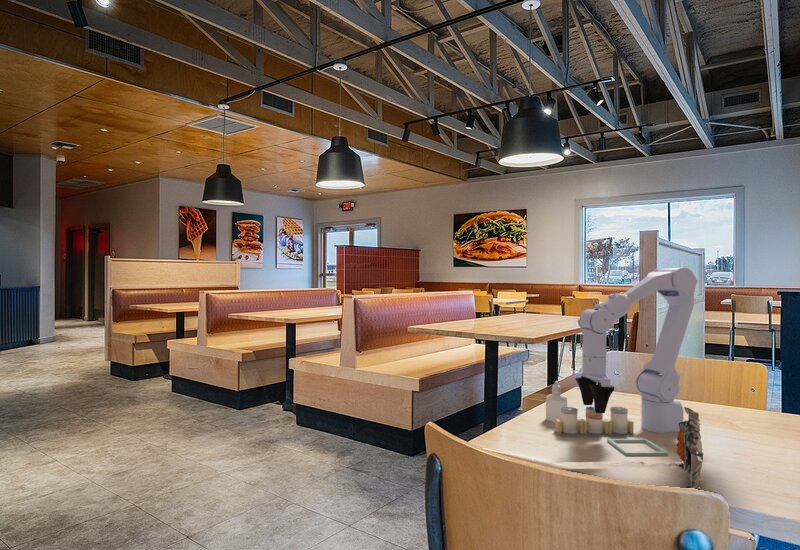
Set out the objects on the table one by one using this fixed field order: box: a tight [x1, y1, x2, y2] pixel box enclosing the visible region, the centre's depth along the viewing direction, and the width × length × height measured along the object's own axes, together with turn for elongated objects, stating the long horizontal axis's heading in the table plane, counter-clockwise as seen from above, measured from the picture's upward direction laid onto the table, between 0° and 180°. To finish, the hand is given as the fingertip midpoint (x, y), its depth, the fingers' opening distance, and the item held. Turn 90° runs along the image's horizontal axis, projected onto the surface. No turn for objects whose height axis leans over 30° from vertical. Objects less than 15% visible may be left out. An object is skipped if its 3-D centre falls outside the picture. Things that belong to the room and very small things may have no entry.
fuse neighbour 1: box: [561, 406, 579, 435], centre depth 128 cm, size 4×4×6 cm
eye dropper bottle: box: [545, 380, 568, 422], centre depth 139 cm, size 4×6×12 cm
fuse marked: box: [585, 406, 604, 435], centre depth 128 cm, size 4×4×6 cm
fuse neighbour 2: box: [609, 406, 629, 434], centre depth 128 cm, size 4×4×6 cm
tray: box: [606, 438, 669, 457], centre depth 116 cm, size 10×10×2 cm
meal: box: [675, 406, 704, 489], centre depth 101 cm, size 15×4×13 cm, turn 153°
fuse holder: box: [550, 418, 641, 438], centre depth 128 cm, size 20×8×4 cm, turn 91°
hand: (593, 408), depth 128 cm, fingers open, 7 cm apart
